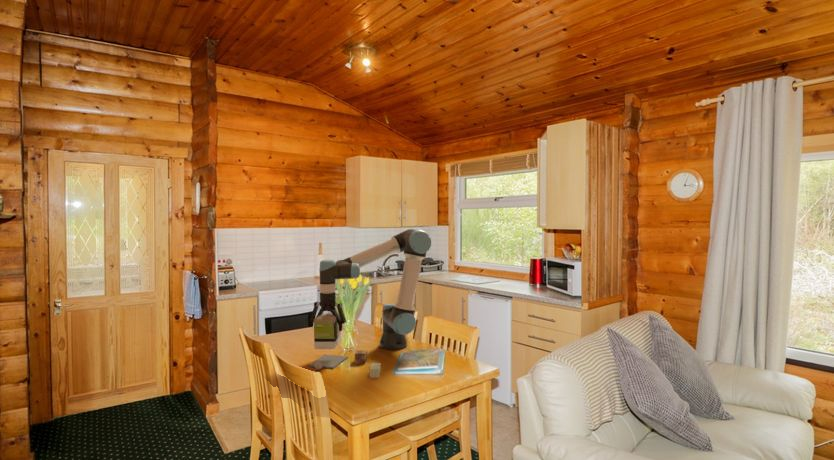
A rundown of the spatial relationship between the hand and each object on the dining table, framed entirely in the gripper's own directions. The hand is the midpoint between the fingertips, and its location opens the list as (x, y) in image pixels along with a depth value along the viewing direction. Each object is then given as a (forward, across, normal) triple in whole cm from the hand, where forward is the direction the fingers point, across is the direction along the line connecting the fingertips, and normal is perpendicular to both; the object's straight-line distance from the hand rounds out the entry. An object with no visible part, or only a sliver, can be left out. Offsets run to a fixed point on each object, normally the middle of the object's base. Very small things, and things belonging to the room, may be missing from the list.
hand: (328, 336), depth 226 cm
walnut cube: (+13, -15, -5) cm, 20 cm away
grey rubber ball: (+11, 0, +10) cm, 15 cm away
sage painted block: (+13, -28, +9) cm, 32 cm away
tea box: (+4, 0, 0) cm, 4 cm away
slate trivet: (+13, 0, 0) cm, 13 cm away
